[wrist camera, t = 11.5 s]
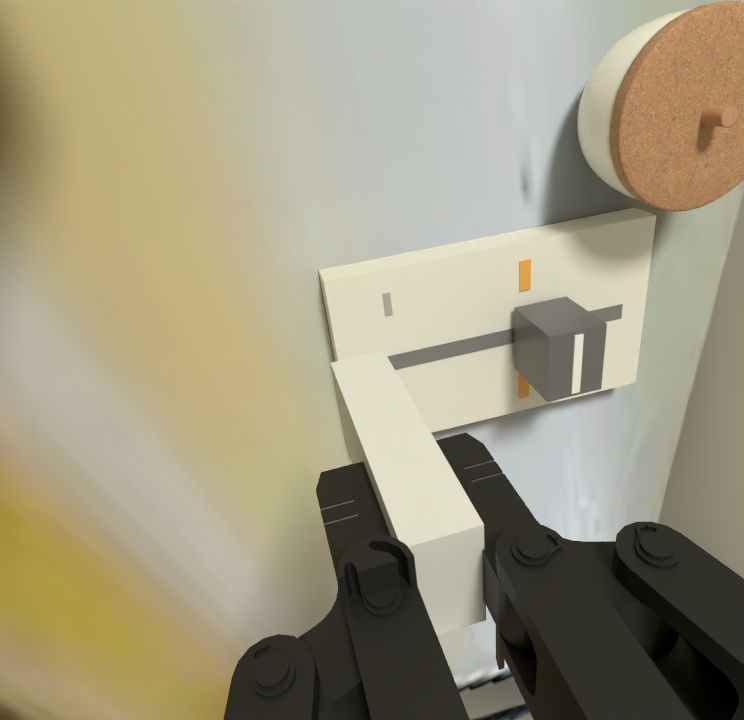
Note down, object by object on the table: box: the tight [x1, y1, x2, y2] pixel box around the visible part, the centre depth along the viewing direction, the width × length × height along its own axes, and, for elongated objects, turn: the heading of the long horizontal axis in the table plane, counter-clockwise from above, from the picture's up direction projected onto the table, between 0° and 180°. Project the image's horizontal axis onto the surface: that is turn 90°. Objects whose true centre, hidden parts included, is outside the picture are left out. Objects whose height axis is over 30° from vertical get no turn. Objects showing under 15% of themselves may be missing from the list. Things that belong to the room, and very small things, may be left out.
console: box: [319, 208, 657, 433], centre depth 42 cm, size 24×14×3 cm, turn 97°
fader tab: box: [514, 296, 607, 402], centre depth 38 cm, size 4×5×5 cm
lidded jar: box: [577, 2, 744, 212], centre depth 33 cm, size 11×11×9 cm
